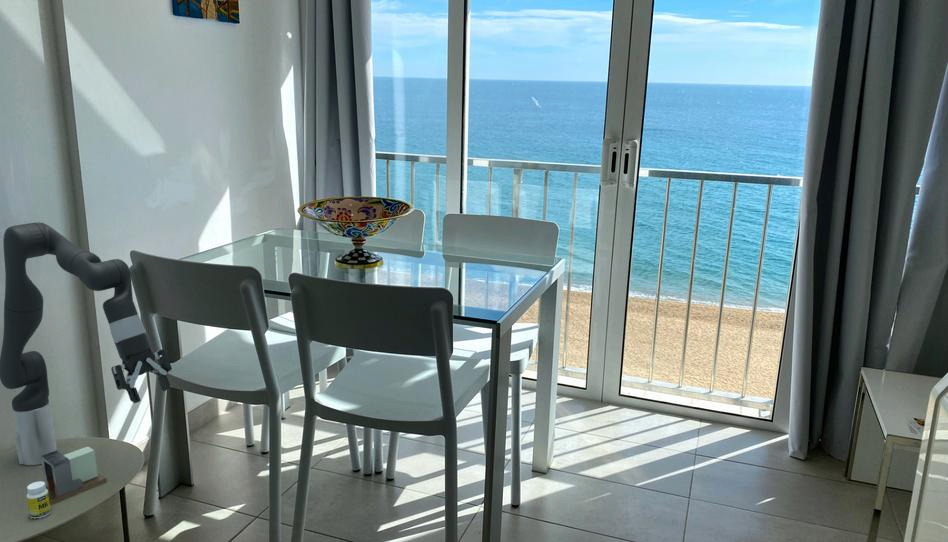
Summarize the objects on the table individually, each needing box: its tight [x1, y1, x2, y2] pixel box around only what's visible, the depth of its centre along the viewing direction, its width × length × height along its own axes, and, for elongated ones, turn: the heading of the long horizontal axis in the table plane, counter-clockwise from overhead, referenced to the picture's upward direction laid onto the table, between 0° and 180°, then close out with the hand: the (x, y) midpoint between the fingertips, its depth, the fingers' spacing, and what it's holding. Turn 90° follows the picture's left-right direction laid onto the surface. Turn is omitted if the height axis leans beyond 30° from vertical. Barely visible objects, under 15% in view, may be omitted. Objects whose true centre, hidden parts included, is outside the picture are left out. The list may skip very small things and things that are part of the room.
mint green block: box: [63, 446, 99, 482], centre depth 196 cm, size 8×4×8 cm, turn 141°
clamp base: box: [41, 449, 107, 506], centre depth 195 cm, size 15×9×10 cm, turn 141°
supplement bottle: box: [26, 481, 52, 520], centre depth 182 cm, size 5×5×8 cm
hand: (152, 396), depth 179 cm, fingers open, 8 cm apart
